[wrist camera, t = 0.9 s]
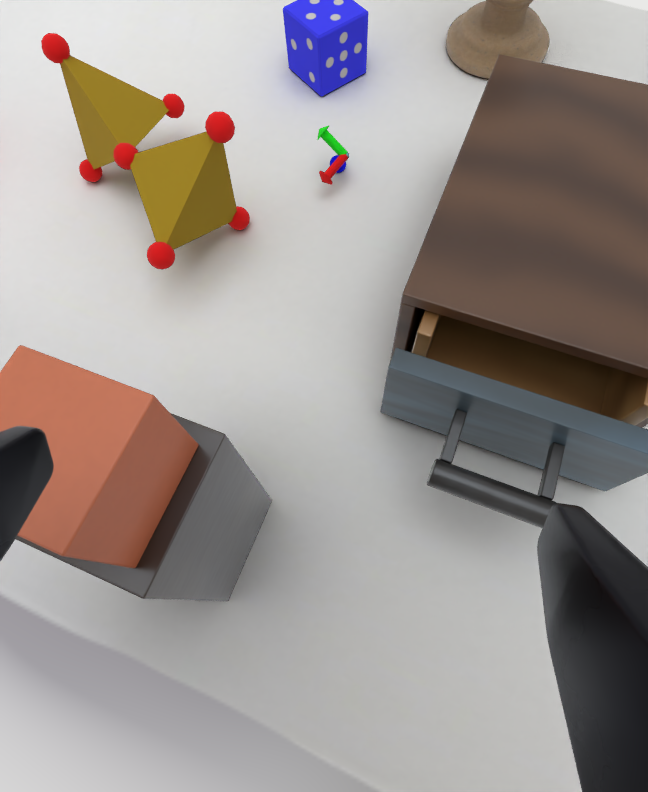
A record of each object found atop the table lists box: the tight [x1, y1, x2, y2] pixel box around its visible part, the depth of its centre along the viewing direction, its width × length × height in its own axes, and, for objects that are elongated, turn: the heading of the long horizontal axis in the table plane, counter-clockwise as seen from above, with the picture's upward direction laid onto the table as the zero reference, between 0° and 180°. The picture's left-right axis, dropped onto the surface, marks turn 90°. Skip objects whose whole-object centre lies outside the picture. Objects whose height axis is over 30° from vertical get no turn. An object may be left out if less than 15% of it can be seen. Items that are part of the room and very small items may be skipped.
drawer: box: [381, 310, 648, 528], centre depth 29 cm, size 23×13×6 cm, turn 158°
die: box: [283, 0, 368, 97], centre depth 42 cm, size 5×5×5 cm
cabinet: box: [390, 54, 648, 428], centre depth 31 cm, size 20×15×8 cm
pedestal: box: [15, 413, 272, 601], centre depth 23 cm, size 6×6×12 cm
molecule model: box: [41, 33, 349, 269], centre depth 35 cm, size 16×18×12 cm
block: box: [0, 345, 198, 568], centre depth 15 cm, size 5×5×5 cm
